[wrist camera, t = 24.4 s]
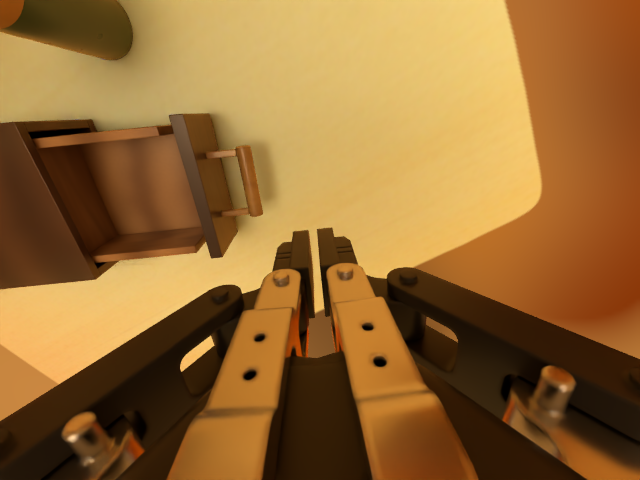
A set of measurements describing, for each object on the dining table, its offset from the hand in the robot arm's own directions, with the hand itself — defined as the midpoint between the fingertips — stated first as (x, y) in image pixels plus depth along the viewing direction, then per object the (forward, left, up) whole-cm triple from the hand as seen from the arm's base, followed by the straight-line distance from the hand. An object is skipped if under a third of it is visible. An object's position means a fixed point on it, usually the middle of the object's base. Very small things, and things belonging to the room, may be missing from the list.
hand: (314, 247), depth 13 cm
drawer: (+9, -12, -20) cm, 25 cm away
